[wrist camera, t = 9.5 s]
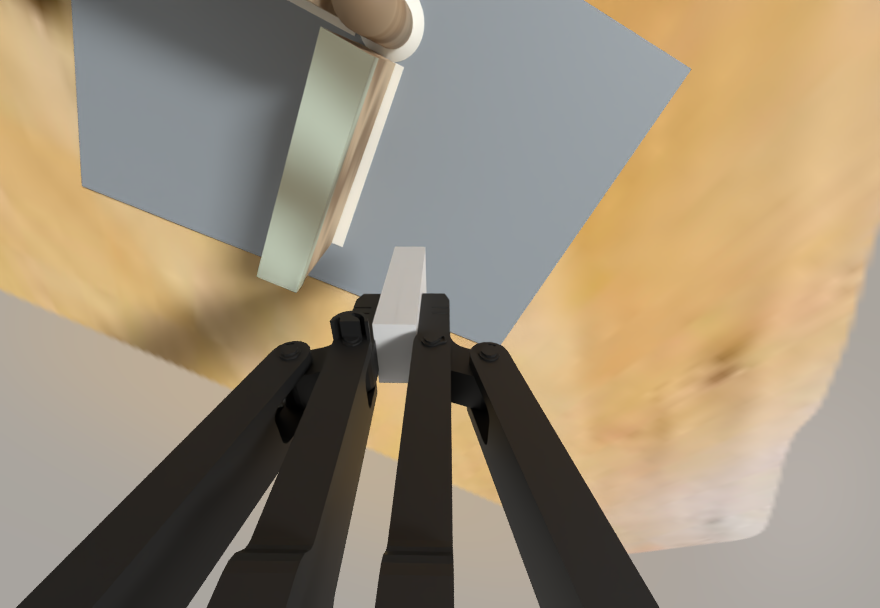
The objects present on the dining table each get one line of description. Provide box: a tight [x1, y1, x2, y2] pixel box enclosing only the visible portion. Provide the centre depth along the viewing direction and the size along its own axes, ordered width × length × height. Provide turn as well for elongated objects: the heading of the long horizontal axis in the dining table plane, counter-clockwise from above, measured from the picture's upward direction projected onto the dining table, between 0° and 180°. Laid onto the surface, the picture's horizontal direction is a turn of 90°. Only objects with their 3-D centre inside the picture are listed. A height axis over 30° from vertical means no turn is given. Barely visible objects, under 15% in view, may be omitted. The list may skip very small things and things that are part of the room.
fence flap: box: [257, 27, 396, 293], centre depth 20 cm, size 12×2×7 cm, turn 154°
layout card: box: [71, 0, 691, 345], centre depth 23 cm, size 32×22×1 cm
